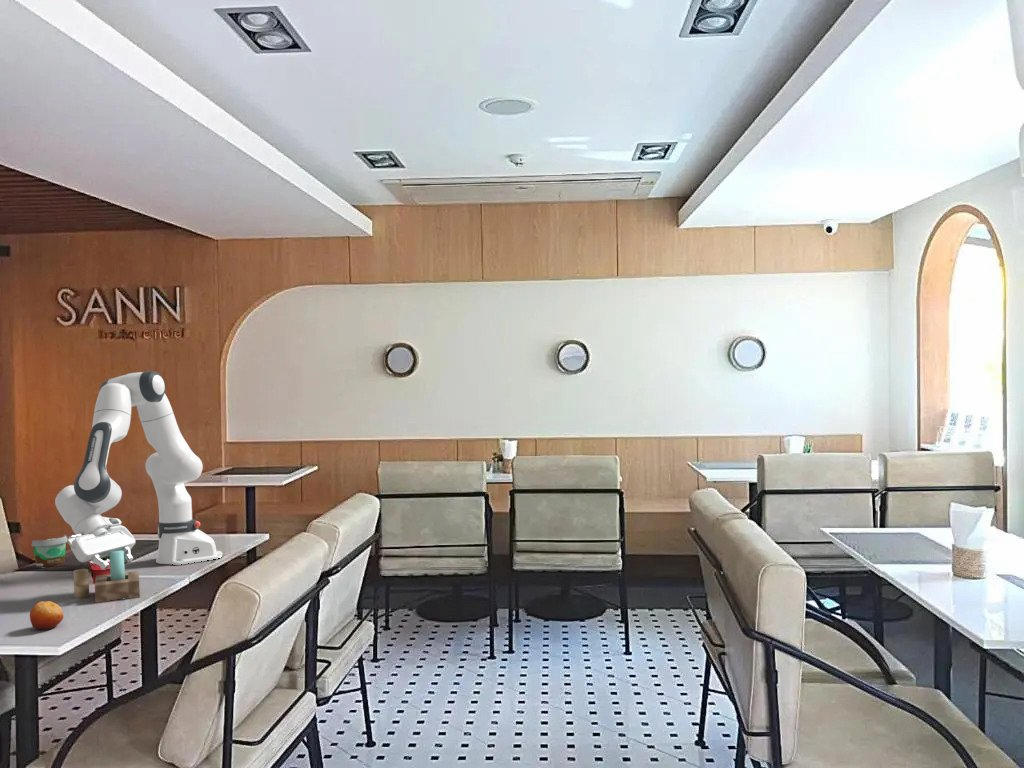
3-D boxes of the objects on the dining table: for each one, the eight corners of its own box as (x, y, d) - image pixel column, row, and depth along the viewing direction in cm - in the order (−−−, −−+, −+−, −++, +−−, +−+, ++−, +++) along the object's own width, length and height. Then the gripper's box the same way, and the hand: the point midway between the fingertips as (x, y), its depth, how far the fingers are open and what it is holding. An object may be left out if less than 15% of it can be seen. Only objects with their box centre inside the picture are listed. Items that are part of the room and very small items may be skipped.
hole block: (139, 587, 276) (138, 571, 276) (139, 597, 263) (139, 580, 263) (96, 592, 271) (96, 575, 271) (95, 602, 258) (94, 585, 258)
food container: (42, 570, 304) (41, 541, 304) (32, 568, 307) (31, 540, 307) (76, 563, 315) (74, 535, 314) (66, 561, 318) (65, 534, 318)
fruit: (30, 619, 237) (45, 593, 238) (57, 632, 238) (72, 607, 238) (16, 628, 229) (32, 601, 230) (44, 642, 230) (59, 615, 230)
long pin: (125, 592, 270) (123, 550, 270) (125, 595, 266) (123, 552, 266) (111, 593, 268) (109, 551, 268) (111, 596, 265) (109, 553, 264)
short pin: (89, 594, 269) (88, 568, 268) (89, 597, 265) (87, 571, 265) (74, 596, 267) (73, 569, 267) (74, 599, 263) (73, 572, 263)
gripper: (69, 529, 260) (96, 564, 256) (123, 517, 279) (148, 550, 275) (59, 544, 261) (85, 579, 258) (113, 531, 280) (138, 563, 277)
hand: (118, 564), depth 267 cm, fingers open, 8 cm apart
